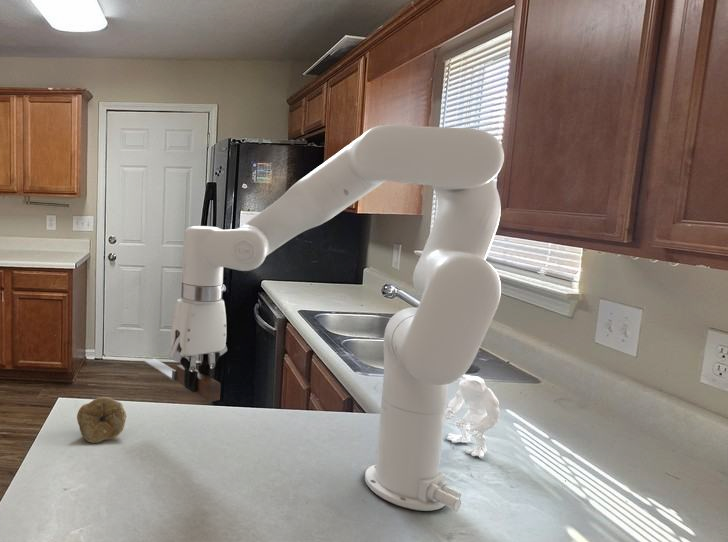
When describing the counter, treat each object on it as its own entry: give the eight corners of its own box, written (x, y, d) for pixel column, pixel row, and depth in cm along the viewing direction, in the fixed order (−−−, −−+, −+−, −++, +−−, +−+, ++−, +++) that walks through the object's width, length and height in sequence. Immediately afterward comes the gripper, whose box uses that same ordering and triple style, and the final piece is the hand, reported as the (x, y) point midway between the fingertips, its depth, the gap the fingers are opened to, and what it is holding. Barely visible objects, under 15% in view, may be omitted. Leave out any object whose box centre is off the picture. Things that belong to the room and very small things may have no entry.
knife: (221, 399, 90) (222, 382, 90) (207, 402, 89) (208, 385, 88) (155, 359, 110) (156, 345, 110) (143, 361, 109) (143, 347, 108)
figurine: (505, 461, 96) (513, 387, 95) (473, 462, 95) (482, 387, 94) (463, 434, 107) (470, 367, 105) (434, 435, 106) (441, 367, 105)
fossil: (71, 405, 101) (117, 389, 105) (71, 414, 104) (114, 398, 108) (86, 447, 96) (133, 429, 100) (85, 455, 99) (131, 436, 103)
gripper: (223, 286, 99) (218, 375, 101) (154, 292, 91) (150, 388, 93) (248, 293, 93) (243, 388, 95) (176, 300, 85) (172, 403, 87)
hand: (197, 387), depth 94 cm, fingers closed on knife, 2 cm apart
